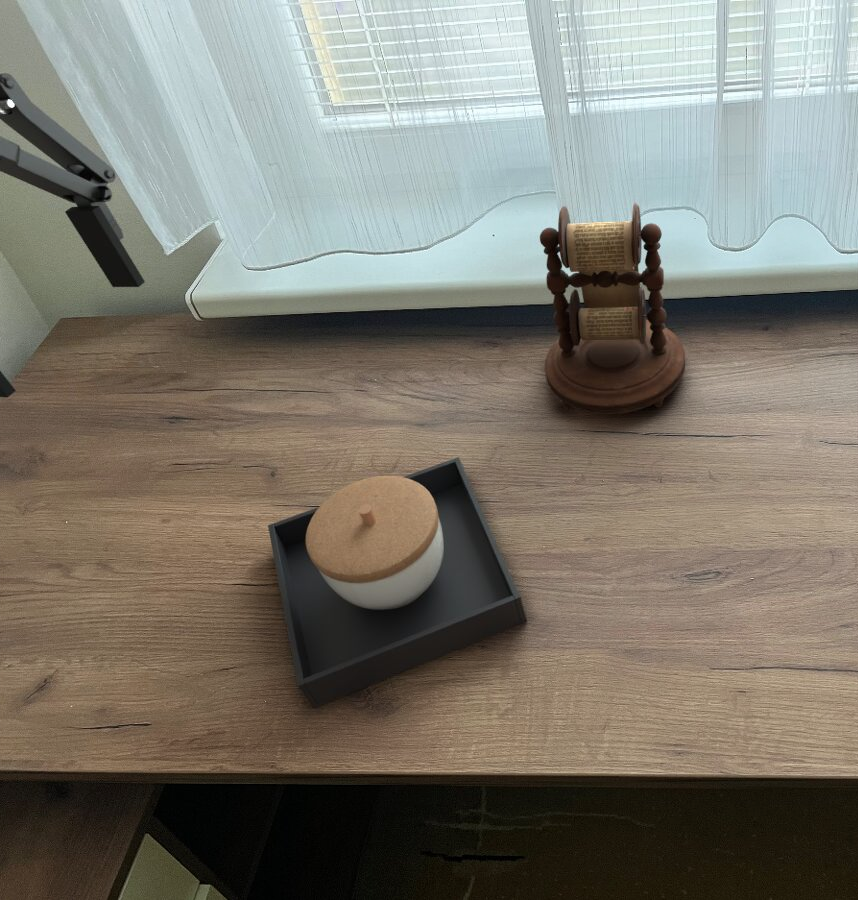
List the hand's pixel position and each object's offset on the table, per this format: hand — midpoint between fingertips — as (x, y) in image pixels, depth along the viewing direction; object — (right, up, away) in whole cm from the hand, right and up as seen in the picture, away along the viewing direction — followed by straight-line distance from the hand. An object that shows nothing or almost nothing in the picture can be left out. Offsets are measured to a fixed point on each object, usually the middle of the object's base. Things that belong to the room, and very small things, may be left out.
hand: (68, 335), depth 64 cm
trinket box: (+21, -20, +12) cm, 32 cm away
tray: (+21, -20, +12) cm, 32 cm away
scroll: (+41, -1, +29) cm, 50 cm away
